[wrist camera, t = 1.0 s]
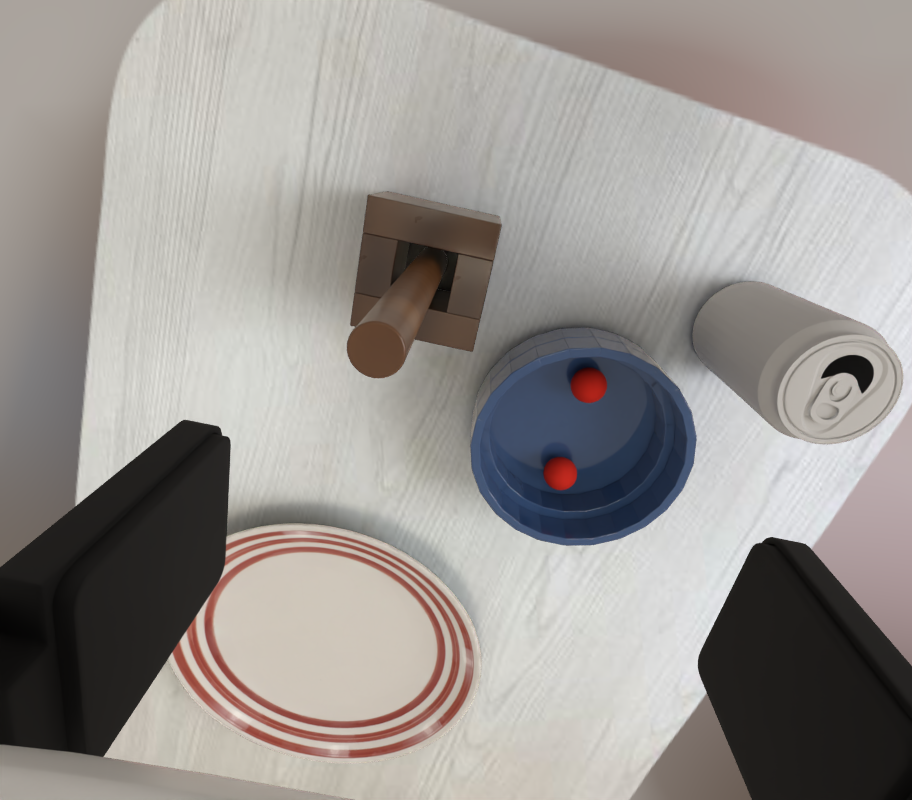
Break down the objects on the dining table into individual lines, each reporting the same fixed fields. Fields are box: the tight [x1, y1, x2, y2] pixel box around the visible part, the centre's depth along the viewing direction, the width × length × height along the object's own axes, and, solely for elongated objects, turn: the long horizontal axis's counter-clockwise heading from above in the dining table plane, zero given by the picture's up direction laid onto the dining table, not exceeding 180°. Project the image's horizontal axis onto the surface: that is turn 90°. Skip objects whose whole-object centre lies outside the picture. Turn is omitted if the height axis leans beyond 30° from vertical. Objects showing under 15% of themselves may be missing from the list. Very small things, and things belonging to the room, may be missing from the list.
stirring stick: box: [347, 247, 448, 378], centre depth 28 cm, size 2×2×20 cm
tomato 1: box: [543, 457, 577, 490], centre depth 40 cm, size 2×2×2 cm
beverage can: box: [692, 281, 903, 444], centre depth 32 cm, size 6×6×12 cm
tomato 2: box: [571, 368, 607, 403], centre depth 37 cm, size 2×2×2 cm
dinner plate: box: [168, 523, 482, 763], centre depth 48 cm, size 28×27×3 cm
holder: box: [350, 191, 502, 352], centre depth 34 cm, size 7×7×6 cm
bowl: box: [470, 327, 696, 546], centre depth 38 cm, size 14×14×6 cm
